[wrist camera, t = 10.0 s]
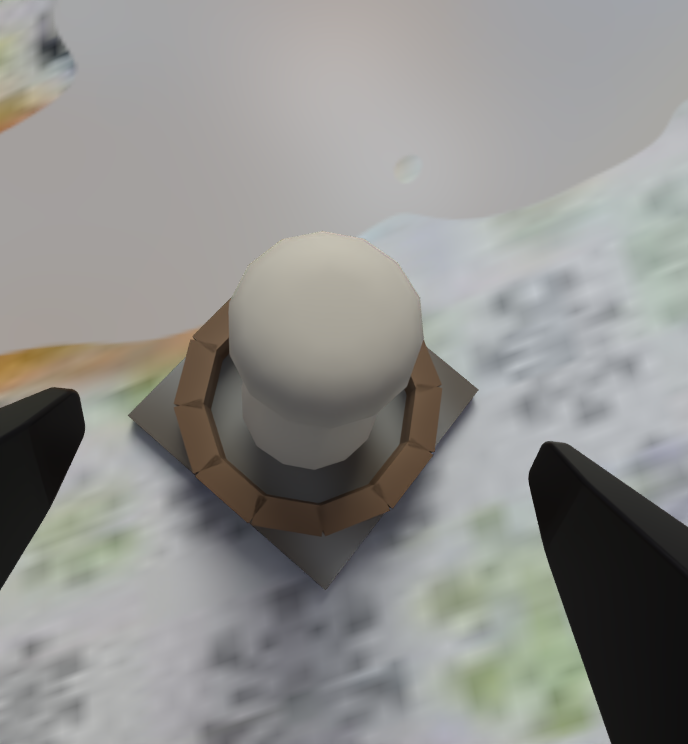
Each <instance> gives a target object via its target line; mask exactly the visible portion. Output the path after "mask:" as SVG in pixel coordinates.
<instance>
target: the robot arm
mask: <svg viewBox="0 0 688 744" xmlns="http://www.w3.org/2000/svg"><path fill="white" fill-rule="evenodd" d="M84 433H85V422H84V417H83V412H82V407H81V401H80V397H79V394H78V393H77V392H76V391H75V390H73V389H65V388H56V387H53V388H49V389H46V390H44V391H41V392H39V393H36V394H34V395H31V396H29V397H26V398H24V399H22V400H19V401H17V402H14V403H12V404H9V405H7V406H4V407H2V408H0V590H1V588H2V587H3V585H4V583H5V582H6V580H7V578H8V577H9V575H10V573H11V572H12V570H13V569H14V567H15V565H16V564H17V562H18V560H19V559H20V557H21V555H22V554H23V552H24V551H25V549H26V547H27V546H28V544H29V542H30V541H31V539H32V537H33V536H34V534H35V532H36V531H37V529H38V528H39V526H40V524H41V523H42V521H43V519H44V518H45V516H46V514H47V512H48V511H49V509H50V507H51V505H52V503H53V501H54V499H55V497H56V495H57V493H58V491H59V489H60V486H61V484H62V482H63V480H64V478H65V476H66V473H67V471H68V469H69V467H70V465H71V463H72V461H73V458H74V456H75V454H76V452H77V450H78V448H79V445H80V443H81V441H82V439H83V436H84ZM528 480H529V486H530V491H531V495H532V499H533V504H534V508H535V512H536V517H537V521H538V525H539V530H540V534H541V538H542V542H543V546H544V550H545V553H546V556H547V560H548V563H549V566H550V569H551V571H552V574H553V577H554V580H555V583H556V586H557V589H558V592H559V595H560V597H561V600H562V603H563V606H564V609H565V612H566V615H567V618H568V620H569V623H570V626H571V629H572V632H573V635H574V638H575V641H576V644H577V646H578V649H579V652H580V655H581V658H582V661H583V664H584V667H585V669H586V672H587V675H588V678H589V681H590V684H591V687H592V690H593V693H594V695H595V698H596V701H597V704H598V707H599V710H600V713H601V716H602V718H603V721H604V724H605V727H606V730H607V733H608V736H609V739H610V742H611V744H688V527H687V526H686V525H684V524H683V523H681V522H680V521H678V520H677V519H675V518H674V517H673V516H671V515H670V514H668V513H667V512H665V511H664V510H662V509H661V508H660V507H658V506H657V505H655V504H654V503H652V502H651V501H649V500H648V499H647V498H645V497H644V496H642V495H641V494H639V493H638V492H636V491H635V490H634V489H632V488H631V487H629V486H628V485H626V484H625V483H623V482H622V481H621V480H619V479H618V478H616V477H615V476H613V475H612V474H611V473H609V472H608V471H606V470H605V469H603V468H602V467H600V466H599V465H598V464H596V463H595V462H593V461H592V460H590V459H589V458H587V457H586V456H585V455H583V454H582V453H580V452H579V451H577V450H576V449H574V448H573V447H572V446H570V445H569V444H566V443H562V442H553V441H547V442H545V443H544V444H542V446H541V448H540V450H539V452H538V454H537V456H536V458H535V460H534V462H533V465H532V467H531V469H530V471H529V477H528Z"/></svg>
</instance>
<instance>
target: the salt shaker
mask: <svg viewBox="0 0 688 744" xmlns="http://www.w3.org/2000/svg"><path fill="white" fill-rule="evenodd" d="M228 314H229V354H230V357H231V359H232V361H233V362H234V364H235V366H236V368H237V370H238V372H239V374H240V376H241V378H242V380H243V384H242V386H241V389H242V413H243V419H244V421H245V423H246V425H247V427H248V429H249V431H250V433H251V436H252V438H253V440H254V442H255V444H256V446H258V447H259V448H260V449H262V450H263V451H265V452H266V453H268V454H269V455H271V456H272V457H273V458H275V459H276V460H278V461H279V462H281V463H282V464H285V465H291V466H296V467H302V468H307V469H312V470H316V469H319V468H322V467H325V466H328V465H331V464H334V463H338V462H341V461H344V460H346V459H347V458H348V457H349V456H350V455H351V454H352V453H353V452H354V451H356V450H357V449H358V448H359V447H360V446H361V445H362V444H363V443H364V442H365V441H367V440H368V438H369V435H370V432H371V430H372V427H373V424H374V422H375V419H376V416H377V414H378V412H379V411H380V410H381V409H382V408H383V407H385V406H386V405H387V404H388V403H389V402H390V401H391V400H392V399H393V398H395V397H396V396H397V395H398V394H399V393H400V392H401V391H402V390H404V389H405V388H406V387H407V384H408V382H409V379H410V376H411V373H412V371H413V368H414V365H415V362H416V359H417V357H418V354H419V351H420V348H421V345H422V342H423V339H424V336H423V325H422V315H421V304H420V297H419V295H418V294H417V292H416V291H415V289H414V288H413V286H412V284H411V283H410V281H409V280H408V278H407V276H406V275H405V273H404V272H403V270H402V268H401V267H400V265H399V264H398V262H396V261H395V260H393V259H392V258H390V257H389V256H388V255H386V254H385V253H383V252H382V251H380V250H379V249H378V248H376V247H375V246H373V245H372V244H370V243H369V242H368V241H366V240H365V239H362V238H356V237H351V236H346V235H340V234H335V233H330V232H324V231H321V232H317V233H311V234H307V235H302V236H297V237H292V238H287V239H282V240H280V241H279V242H278V243H277V244H275V245H274V246H273V247H271V248H270V249H269V250H268V251H266V252H265V253H264V254H262V255H261V256H260V257H259V258H257V259H256V260H255V261H253V262H252V263H251V264H249V265H248V267H247V270H246V271H245V273H244V275H243V277H242V279H241V281H240V283H239V285H238V287H237V289H236V290H235V292H234V294H233V296H232V298H231V300H230V302H229V312H228Z"/></svg>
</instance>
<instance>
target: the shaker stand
mask: <svg viewBox="0 0 688 744" xmlns="http://www.w3.org/2000/svg"><path fill="white" fill-rule="evenodd" d="M231 298H232V297H231ZM231 298H230V299H229V300H228V301H227V302H226V303H225V304H224V305H223V306H222V307H221V308H220V309H219V310H218V311H217V312H216V313H215V314H214V315H213V316H212V317H211V318H210V319H209V320H208V321H207V322H206V323H205V324H204V325H203V326H202V327H201V328H200V329H199V330H198V331H197V332H196V333H195V334H194V335H193V336H192V337H193V338H194V339H195V340H190V343H189V347H188V351H187V355H186V357H185V358H184V359H183V360H182V361H181V362H180V363H179V364H178V365H177V366H176V367H175V368H174V369H173V370H172V371H171V372H170V373H169V374H168V375H167V376H166V377H165V378H164V379H163V380H162V381H161V382H160V383H159V384H158V385H157V386H156V387H155V388H154V389H153V390H152V391H151V393H150V394H149V395H148V396H147V397H146V398H145V399H144V400H143V401H142V402H141V403H140V404H139V405H138V406H137V407H136V408H135V409H134V410H133V411H132V412H131V413H130V414H129V415H128V416H129V417H130V418H131V419H132V420H133V421H135V422H136V423H137V424H138V425H139V426H140V427H141V428H142V429H144V430H145V431H146V432H147V433H148V434H149V435H150V436H152V437H153V438H154V439H155V440H156V441H157V442H158V443H159V444H161V445H162V446H163V447H164V448H165V449H166V450H167V451H168V452H170V453H171V454H172V455H173V456H174V457H175V458H176V459H178V460H179V461H180V462H181V463H182V464H183V465H184V466H185V467H187V468H188V469H189V470H190V471H191V472H192V473H193V474H194V475H196V476H195V477H196V478H197V479H198V480H200V481H201V482H202V483H203V484H204V485H205V486H206V487H207V488H209V489H210V490H211V491H212V492H213V493H214V494H215V495H217V496H218V497H219V498H220V499H221V500H222V501H223V502H224V503H226V504H227V505H228V506H229V507H230V508H231V509H232V510H233V511H235V512H236V513H237V514H238V515H239V516H240V517H241V518H243V519H244V520H245V521H246V522H247V523H250V524H251V525H252V526H253V527H254V528H256V529H257V530H258V531H259V532H260V533H261V534H262V535H263V536H265V537H266V538H267V539H268V540H269V541H270V542H271V543H273V544H274V545H275V546H276V547H277V548H278V549H279V550H280V551H282V552H283V553H284V554H285V555H286V556H287V557H288V558H289V559H291V560H292V561H293V562H294V563H295V564H296V565H297V566H299V567H300V568H301V569H302V570H303V571H304V572H305V573H306V574H308V575H309V576H310V577H311V578H312V579H313V580H314V581H315V582H317V583H318V584H319V585H320V586H321V587H322V588H323V589H325V590H326V589H327V588H328V586H329V585H330V584H331V582H332V581H333V580H334V578H335V577H336V576H337V575H338V573H339V572H340V571H341V569H342V568H343V567H344V565H345V564H346V563H347V561H348V560H349V559H350V558H351V556H352V555H353V554H354V552H355V551H356V550H357V548H358V547H359V546H360V544H361V543H362V542H363V541H364V539H365V538H366V537H367V535H368V534H369V533H370V531H371V530H372V529H373V527H374V526H375V525H376V523H377V522H378V521H379V520H380V518H381V517H382V516H383V514H384V513H385V512H388V511H390V510H389V507H390V508H393V507H394V506H395V505H396V503H397V502H398V501H399V499H400V498H401V497H402V496H403V494H404V493H405V492H406V490H407V489H408V488H409V486H410V485H411V484H412V482H413V481H414V480H415V478H416V477H417V476H418V475H419V473H420V472H421V471H422V469H423V468H424V467H425V465H426V464H427V463H428V461H429V460H430V459H431V457H432V456H433V454H431V452H435V446H436V445H437V444H438V442H439V441H440V440H441V438H442V437H443V436H444V434H445V433H446V432H447V431H448V429H449V428H450V427H451V425H452V424H453V423H454V421H455V420H456V419H457V417H458V416H459V415H460V414H461V412H462V411H463V410H464V408H465V407H466V406H467V404H468V403H469V402H470V400H471V399H472V398H473V396H474V395H475V394H476V393H477V391H478V389H477V388H476V387H475V386H473V385H472V384H471V383H470V382H469V381H467V380H466V379H465V378H464V377H462V376H461V375H460V374H459V373H458V372H456V371H455V370H454V369H453V368H452V367H450V366H449V365H448V364H447V363H445V362H444V361H443V360H442V359H441V358H439V357H438V356H437V355H436V354H435V353H433V352H432V351H431V350H430V349H428V348H427V347H426V344H425V342H424V340H423V342H422V345H421V348H420V351H419V354H418V357H417V359H416V362H415V365H414V368H413V371H412V373H411V376H410V379H409V382H408V384H407V387H406V388H405V389H404V390H402V391H401V392H400V393H399V394H398V395H397V396H396V397H395V398H393V399H392V400H391V401H390V402H389V403H388V404H387V405H386V406H385V407H383V408H382V409H381V410H380V411H379V412H378V414H377V416H376V419H375V422H374V424H373V427H372V430H371V432H370V435H369V438H368V440H367V441H365V442H364V443H363V444H362V445H361V446H360V447H359V448H358V449H357V450H356V451H354V452H353V453H352V454H351V455H350V456H349V457H348V458H347V459H346V460H344V461H341V462H338V463H334V464H331V465H328V466H325V467H322V468H319V469H316V470H312V469H307V468H302V467H296V466H291V465H285V464H282V463H281V462H279V461H278V460H276V459H275V458H273V457H272V456H271V455H269V454H268V453H266V452H265V451H263V450H262V449H260V448H259V447H258V446H256V444H255V442H254V440H253V438H252V436H251V433H250V431H249V429H248V427H247V425H246V423H245V421H244V419H243V413H242V389H241V386H242V384H243V380H242V378H241V376H240V374H239V372H238V370H237V368H236V366H235V364H234V362H233V361H232V359H231V357H230V354H229V314H228V312H229V302H230V300H231Z"/></svg>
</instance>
